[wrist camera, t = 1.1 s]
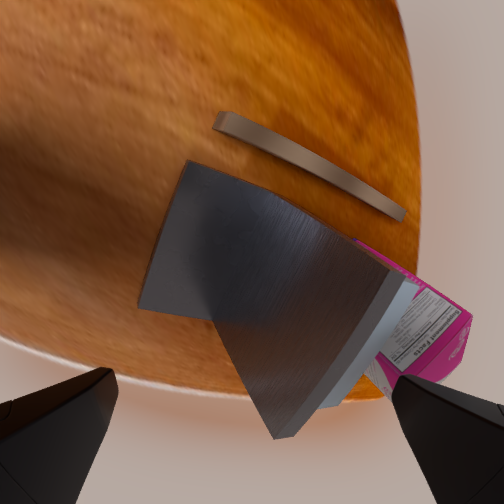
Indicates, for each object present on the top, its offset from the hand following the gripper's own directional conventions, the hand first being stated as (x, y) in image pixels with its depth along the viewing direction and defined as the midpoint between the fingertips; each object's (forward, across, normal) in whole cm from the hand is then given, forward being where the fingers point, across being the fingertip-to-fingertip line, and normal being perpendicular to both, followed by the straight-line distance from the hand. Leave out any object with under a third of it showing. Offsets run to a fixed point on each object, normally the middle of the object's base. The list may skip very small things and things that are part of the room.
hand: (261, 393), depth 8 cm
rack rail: (+13, +4, +6) cm, 15 cm away
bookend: (+11, -3, +1) cm, 11 cm away
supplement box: (+15, +7, -2) cm, 17 cm away
